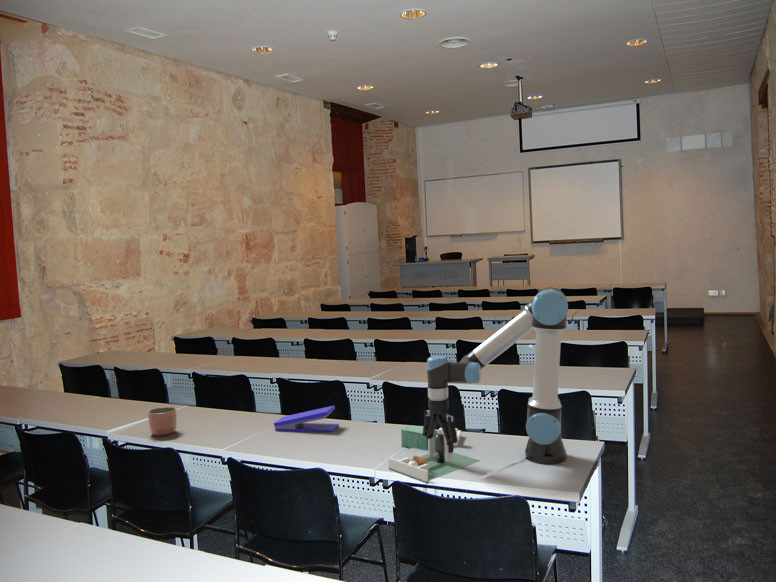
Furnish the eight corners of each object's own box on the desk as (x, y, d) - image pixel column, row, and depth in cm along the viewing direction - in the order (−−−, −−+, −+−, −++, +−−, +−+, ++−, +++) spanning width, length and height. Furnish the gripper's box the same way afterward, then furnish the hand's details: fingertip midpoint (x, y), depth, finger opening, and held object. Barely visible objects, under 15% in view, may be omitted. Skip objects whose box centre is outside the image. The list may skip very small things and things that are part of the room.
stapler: (331, 433, 280) (330, 411, 279) (273, 431, 286) (272, 410, 286) (339, 425, 291) (338, 405, 291) (282, 424, 297) (281, 404, 297)
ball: (415, 460, 223) (411, 471, 221) (422, 464, 225) (418, 474, 224) (407, 458, 226) (403, 468, 224) (414, 461, 228) (410, 472, 227)
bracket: (456, 448, 252) (456, 430, 251) (439, 447, 254) (438, 429, 253) (461, 438, 264) (460, 421, 264) (444, 438, 266) (443, 420, 266)
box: (428, 452, 248) (428, 434, 247) (401, 447, 256) (400, 429, 256) (438, 447, 254) (438, 429, 253) (411, 442, 262) (411, 424, 262)
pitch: (480, 462, 234) (480, 451, 233) (426, 483, 215) (426, 471, 215) (442, 451, 249) (441, 440, 248) (388, 469, 231) (388, 458, 230)
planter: (181, 433, 288) (179, 410, 288) (153, 439, 281) (151, 415, 281) (173, 427, 299) (172, 405, 298) (146, 433, 292) (144, 409, 291)
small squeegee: (449, 461, 233) (448, 435, 232) (424, 470, 224) (423, 443, 224) (437, 458, 237) (436, 432, 237) (413, 466, 229) (412, 440, 228)
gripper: (466, 400, 227) (468, 462, 228) (425, 392, 243) (427, 449, 244) (452, 404, 222) (454, 467, 223) (411, 395, 238) (413, 454, 239)
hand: (440, 457), depth 234 cm, fingers open, 8 cm apart
